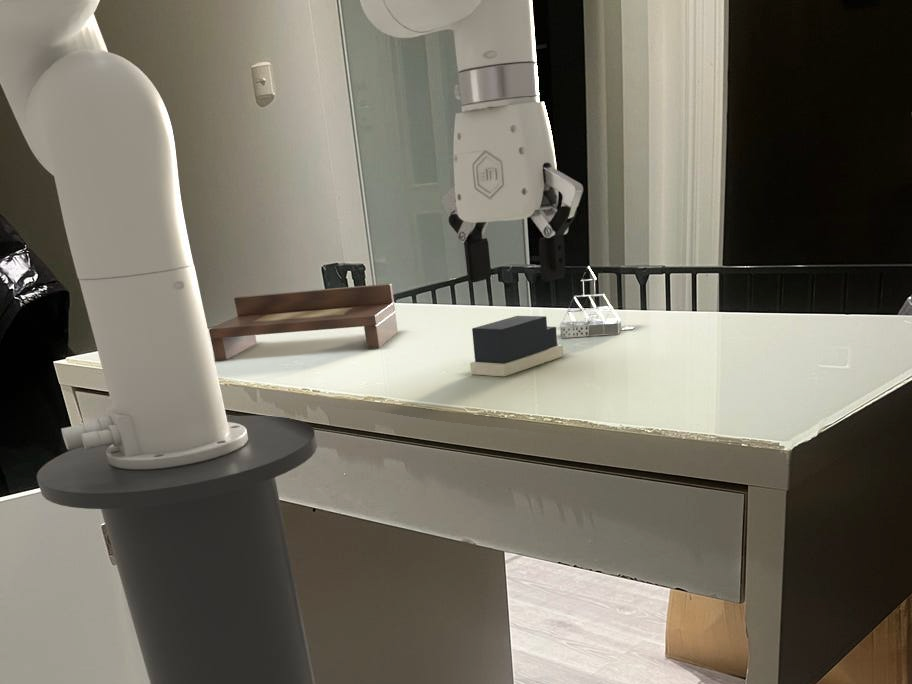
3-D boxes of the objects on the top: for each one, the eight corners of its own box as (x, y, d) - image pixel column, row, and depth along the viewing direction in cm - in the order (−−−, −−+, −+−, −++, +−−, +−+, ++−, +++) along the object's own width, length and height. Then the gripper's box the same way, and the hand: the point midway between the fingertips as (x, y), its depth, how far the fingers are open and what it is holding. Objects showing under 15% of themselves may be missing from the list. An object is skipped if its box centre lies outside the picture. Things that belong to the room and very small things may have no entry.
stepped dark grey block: (504, 376, 98) (501, 330, 96) (470, 374, 101) (466, 329, 99) (563, 356, 105) (561, 312, 103) (530, 354, 107) (527, 312, 105)
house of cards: (636, 321, 121) (635, 256, 117) (634, 333, 113) (632, 264, 110) (565, 326, 123) (562, 262, 119) (558, 338, 115) (555, 270, 112)
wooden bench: (215, 360, 124) (204, 309, 121) (246, 344, 135) (236, 296, 132) (379, 348, 121) (372, 295, 118) (397, 332, 132) (391, 283, 129)
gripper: (407, 104, 94) (430, 286, 102) (548, 79, 83) (562, 285, 91) (457, 100, 99) (475, 275, 107) (596, 76, 88) (605, 272, 96)
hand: (515, 279), depth 99 cm, fingers open, 9 cm apart
